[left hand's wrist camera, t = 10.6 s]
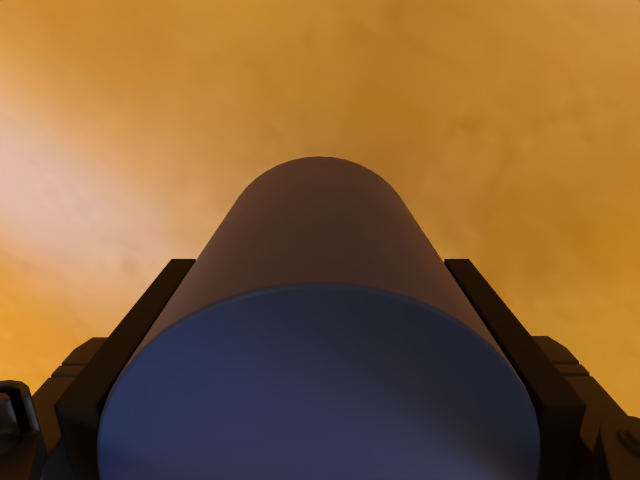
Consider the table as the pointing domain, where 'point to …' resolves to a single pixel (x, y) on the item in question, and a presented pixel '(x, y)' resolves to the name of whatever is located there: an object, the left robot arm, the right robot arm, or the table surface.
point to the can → (318, 352)
